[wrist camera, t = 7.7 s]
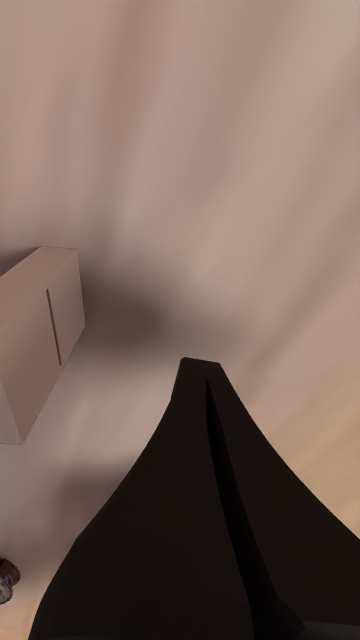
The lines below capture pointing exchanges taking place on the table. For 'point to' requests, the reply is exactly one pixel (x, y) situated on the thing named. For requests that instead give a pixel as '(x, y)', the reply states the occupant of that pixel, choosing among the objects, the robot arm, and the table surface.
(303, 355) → the table surface
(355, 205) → the table surface
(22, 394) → the ivory tile
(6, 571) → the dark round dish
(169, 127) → the table surface
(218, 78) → the table surface
